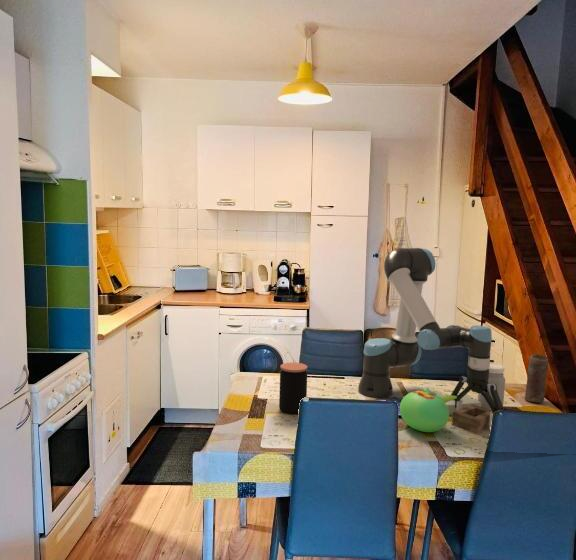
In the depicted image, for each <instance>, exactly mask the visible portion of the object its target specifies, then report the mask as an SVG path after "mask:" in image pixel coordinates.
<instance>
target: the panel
mask: <svg viewBox="0 0 576 560" xmlns="http://www.w3.org/2000/svg"><path fill="white" fill-rule="evenodd" d="M453 391H454V390H452V392H453ZM458 395H459V394H458ZM458 395H457V396H458ZM460 400H463V402H462V408H465V407H467V406H470V405H473V404H474V405H477V406H480V407H481V402H479V401H478V399H477V398H475V397H472V396H470V395H469V394H468V393H467V394H466V395H465V396H464V397H462V398H461V399H460ZM446 405H447V407H448V410H449V416H451V415H453V412H454V411H456V408H455V399H454V400H451V401H448V402H446Z"/></svg>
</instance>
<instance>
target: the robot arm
mask: <svg viewBox="0 0 576 560" xmlns="http://www.w3.org/2000/svg"><path fill="white" fill-rule="evenodd" d="M383 264H384V265H383V268H384V269H383V270H384V274H385V276H386V278H387V280H388V282H389V284H393V286H394V288H395V290H396V291H397V293H398V295H399V297H400V299H399V306H398V312H397V318H396V319H397V320H396V325H395V331H394V332H393V333H392V334H391V337H390V339H388V338H385V337H384V338H383V337H381V338H378V337H377V338H371V339H369V340H367V341H366V342H365V343H364V345H363V346H364V347H363V365H362V366H363V367H362V375H361V378H360V381H359V383H358V387H357V388H358V389H357V391H358V393H359V394H361V395H363V396H367V397H369V398H370V397H371V398H387V397H390V396H392V395H393V394H394V393H393V392H394V387H393V385H392V381H391V380H392V379H391V376H390V375H391V372H390V371H391V369H392V368H400V367H410V366H414V365H415V364H416V363H418V362H419V360H420V359H421V357H422V349H423V350H430V351H431V350H433V351H434V350H440V349H449V348H458V347H459V348H463V349H467V350H468V357H467V358H468V359H467V366H468V367H467V372H466V373H467V374H466V375H467V377H466V375H461V376H459V378H458V382H457V384H456V386H455V387H454V389H453V390H452V391H453V392H452V393H451V394H450V395H452V396H456V397H457V398H456V399H455V408H456V411H457V410H460V409H462V402H463V400H460V399H461V398H462V397H464V396H465V395H466V394H467V395H468V393H469V392H470V391H471V392H472V393H476V394H478V393H479V394H480V393H481V395H482V396H484V398H485V400H486V401H487V403H488V405H489V406H490V408H491V410H492V412H490V424H489V430H490V427H491V421H492V414H493V412H495V411H497V410H504V411H505V408H504V405H503V406H502V403H501V400H500V397H499V395H498V392H497V385H496V384H493V385H492V384H489V383H488V379H489V368H490V363H491V351H492V350H491V347H492V341H493V337H492V329H491V328H490V327H489V326H485V325H478V324H477V325H471V326H470V328H466V327H462V326H459V325H455V324H451V325H447V326H446V327H442V328H441V327H440V325H439V323H438V322H437V320H436V319H435V317H434V315H433V313H432V311H431V310H430V308H429V306H428V304H427V302H426V301H425V299H424V297H423V295H422V290H423V286H424V284H425V283H427V281H428V276H430V275H432V274H433V273H434V271H435V269H436V259H435V256H434V254H433V253H432V251H430V250H429V249H427V248H421V247H408V248H407V247H406V248H403V247H399V248H398V247H397V248H394V249H392V250H390V252H389V253H388V254H387V255H386V257H385V259H384V263H383ZM416 330H418V331H419V332H418V334H417V336H416ZM465 383H466V384H467V386H466V387H465V388H464V389H463V390H462V388H463V387H464V385H465ZM488 387H489V390H490V392H491V395H492V397H491V396H490V394H489V391H488V389H487V388H488ZM461 390H462V391H461ZM460 391H461V392H460ZM484 391H485V392H484ZM457 395H458V396H457ZM492 398H493V399H492ZM493 400H494V401H493Z"/></svg>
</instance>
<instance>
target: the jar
mask: <svg viewBox="0 0 576 560" xmlns="http://www.w3.org/2000/svg"><path fill="white" fill-rule="evenodd" d="M504 372H505V366H504V365H500V364H497V363H491V362H490V368H489V379H488V383H489V384H492V385H493V384H496V385H497V392H498V395H499V397H500V400H501V403H502V406H503V407H504V404H505V403H504V400H505V388H506V378H505V376H504V375H505V374H504ZM487 389H488V391H489V394H490V396H491V397H492V395H491V392H490V390H489V387H488V388H487ZM484 392H485V391H484ZM492 399H493V398H492ZM477 400H478V401H479V402H481V407H483V408H486V409H489V410H491V408H490V406H489V405H488V403H487V401H486V400H485V398H484V396H482V395H481V393H480V394H479V393H477ZM493 401H494V400H493Z"/></svg>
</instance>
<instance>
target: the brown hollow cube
mask: <svg viewBox="0 0 576 560" xmlns="http://www.w3.org/2000/svg"><path fill="white" fill-rule="evenodd" d="M490 412H492V410H489V409H486V408H483V407H480V406H477V405H474V404H473V405H470V406H467V407H465V408H462V409H460V410H457V411H454V412H453V414H452V419H451V420H452V421H451V426H454V427H456V428H459V429H463V430H465V431H468V432H470V433H472V434H476V435H478V434H479V433H483V432H484V431H487V430H488V429H489V424H490ZM489 430H490V429H489Z"/></svg>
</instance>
